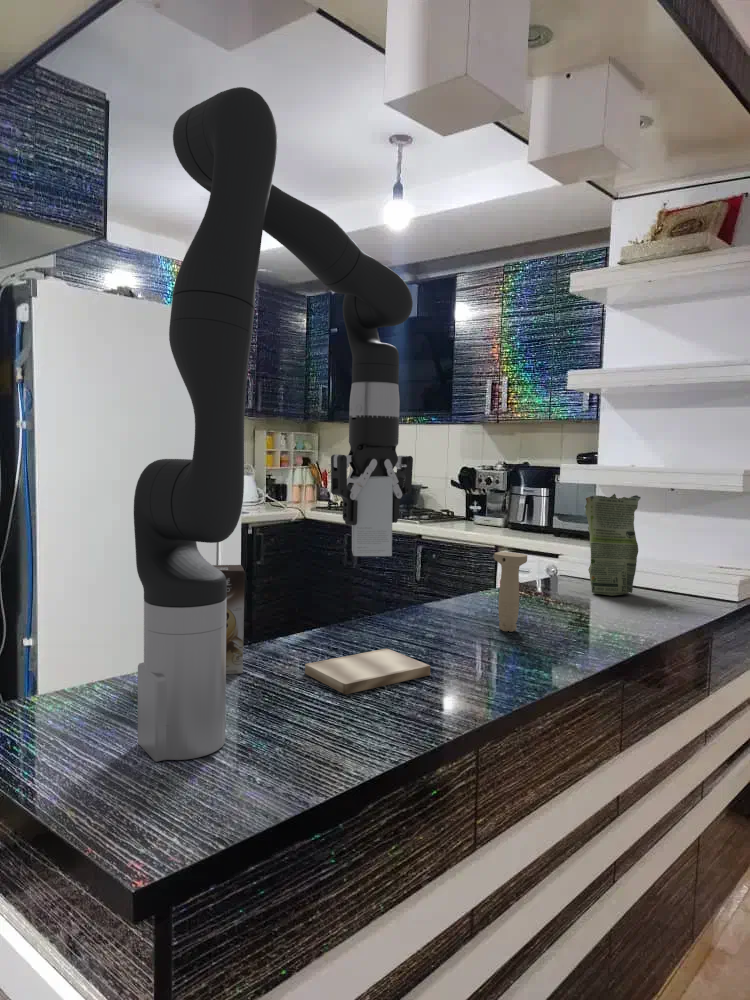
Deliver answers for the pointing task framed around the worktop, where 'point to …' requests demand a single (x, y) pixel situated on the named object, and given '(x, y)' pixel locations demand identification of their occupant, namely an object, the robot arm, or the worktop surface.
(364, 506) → the skincare box
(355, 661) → the birch board
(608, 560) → the pouch
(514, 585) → the handle
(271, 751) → the worktop surface
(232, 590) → the coffee box
